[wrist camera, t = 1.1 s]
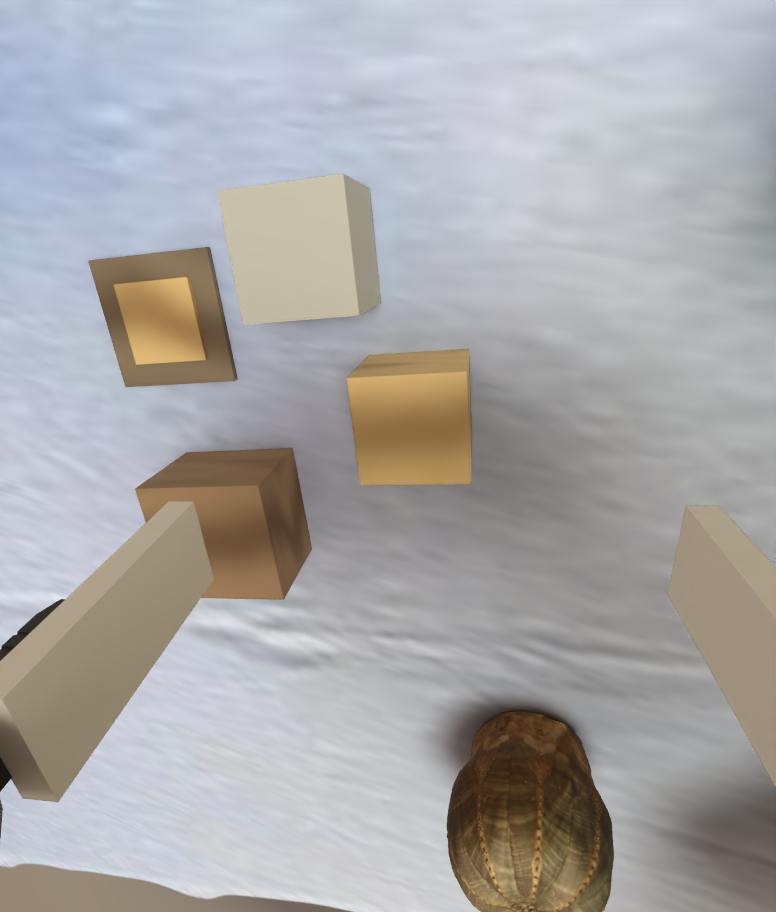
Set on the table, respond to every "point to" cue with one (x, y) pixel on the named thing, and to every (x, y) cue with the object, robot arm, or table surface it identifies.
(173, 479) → the walnut block
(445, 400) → the maple cube
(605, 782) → the table surface
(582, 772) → the shell
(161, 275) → the tile
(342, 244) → the beige cube
